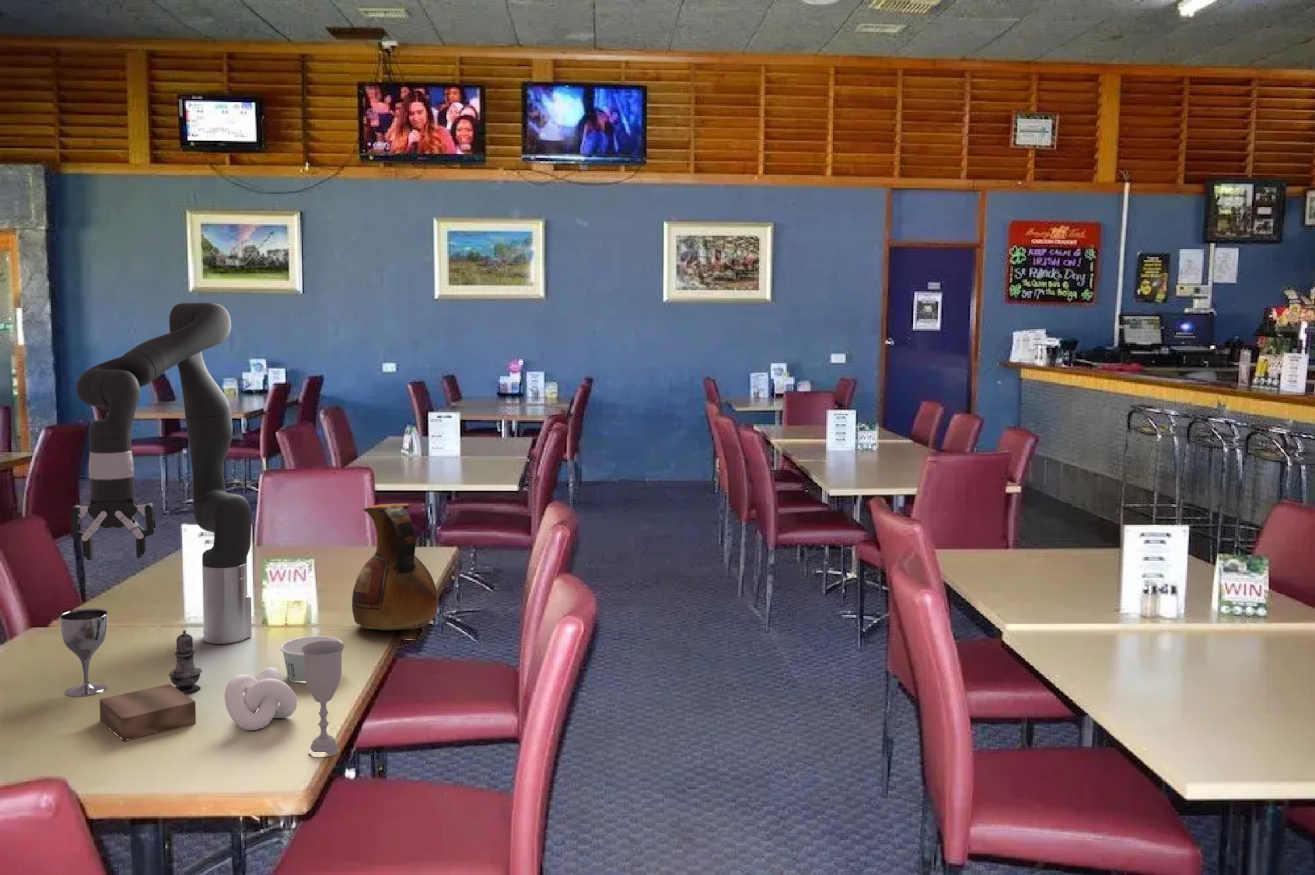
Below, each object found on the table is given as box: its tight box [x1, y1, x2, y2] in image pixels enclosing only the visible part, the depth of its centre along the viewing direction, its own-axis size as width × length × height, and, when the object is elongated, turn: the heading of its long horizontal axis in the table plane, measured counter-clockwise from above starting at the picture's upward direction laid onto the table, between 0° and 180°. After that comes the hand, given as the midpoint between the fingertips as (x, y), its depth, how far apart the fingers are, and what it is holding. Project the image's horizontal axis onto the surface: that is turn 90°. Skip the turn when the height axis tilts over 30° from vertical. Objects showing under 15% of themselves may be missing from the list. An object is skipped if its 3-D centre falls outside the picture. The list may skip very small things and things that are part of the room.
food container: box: [279, 635, 343, 681], centre depth 207 cm, size 12×12×6 cm
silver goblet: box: [59, 608, 109, 698], centre depth 195 cm, size 8×8×15 cm
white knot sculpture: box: [224, 666, 298, 731], centre depth 182 cm, size 11×12×9 cm
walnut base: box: [99, 683, 197, 741], centre depth 181 cm, size 12×12×4 cm
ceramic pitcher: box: [351, 503, 439, 631], centre depth 240 cm, size 20×20×30 cm
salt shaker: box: [168, 629, 203, 695], centre depth 197 cm, size 6×6×12 cm
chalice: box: [301, 641, 345, 758], centre depth 170 cm, size 7×7×18 cm
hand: (114, 558), depth 195 cm, fingers open, 8 cm apart
